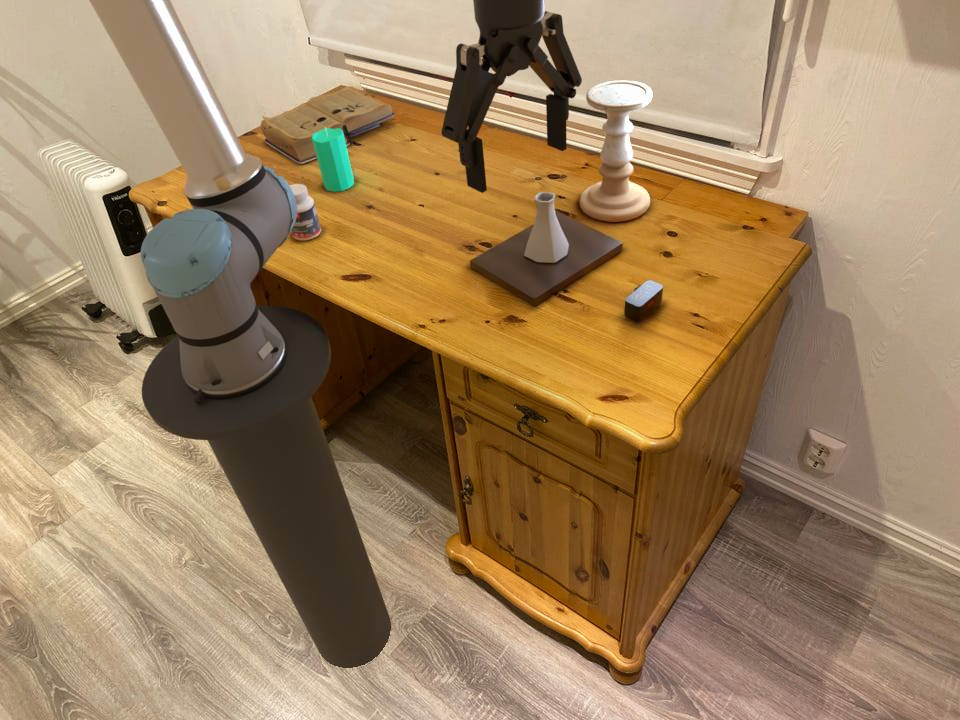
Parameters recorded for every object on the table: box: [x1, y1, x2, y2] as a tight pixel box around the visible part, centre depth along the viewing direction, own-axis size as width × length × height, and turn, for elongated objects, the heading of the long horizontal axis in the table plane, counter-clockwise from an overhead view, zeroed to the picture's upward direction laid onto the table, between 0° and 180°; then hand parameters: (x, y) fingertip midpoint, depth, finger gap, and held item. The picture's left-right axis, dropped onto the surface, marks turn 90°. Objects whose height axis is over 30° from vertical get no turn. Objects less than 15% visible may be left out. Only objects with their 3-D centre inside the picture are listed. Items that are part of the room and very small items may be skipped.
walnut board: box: [469, 210, 624, 307], centre depth 116 cm, size 20×15×2 cm
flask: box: [524, 191, 569, 263], centre depth 112 cm, size 7×7×10 cm
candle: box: [312, 126, 355, 193], centre depth 138 cm, size 6×6×12 cm
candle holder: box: [579, 79, 653, 223], centre depth 120 cm, size 12×12×20 cm
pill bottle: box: [289, 183, 322, 241], centre depth 126 cm, size 5×5×9 cm
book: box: [260, 86, 396, 165], centre depth 157 cm, size 25×17×6 cm
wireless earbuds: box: [623, 279, 664, 323], centre depth 104 cm, size 5×7×3 cm, turn 136°
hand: (518, 167), depth 89 cm, fingers open, 13 cm apart
